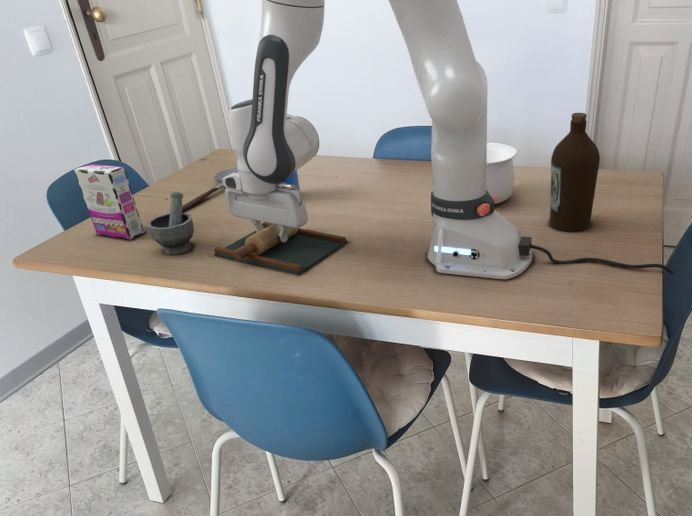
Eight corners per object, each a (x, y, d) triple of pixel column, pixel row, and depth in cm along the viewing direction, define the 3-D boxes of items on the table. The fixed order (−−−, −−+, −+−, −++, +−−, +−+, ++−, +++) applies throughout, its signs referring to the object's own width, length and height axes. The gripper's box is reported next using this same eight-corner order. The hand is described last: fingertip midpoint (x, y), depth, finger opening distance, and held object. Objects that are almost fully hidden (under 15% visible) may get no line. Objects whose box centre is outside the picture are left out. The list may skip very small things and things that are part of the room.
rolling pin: (312, 227, 151) (309, 210, 149) (246, 266, 134) (242, 247, 132) (298, 225, 153) (295, 207, 150) (231, 263, 136) (226, 244, 134)
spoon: (261, 176, 185) (258, 166, 184) (187, 222, 161) (183, 211, 159) (231, 176, 189) (228, 166, 188) (155, 221, 165) (151, 210, 163)
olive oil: (586, 214, 153) (597, 107, 139) (597, 231, 144) (610, 119, 131) (543, 216, 153) (549, 109, 139) (551, 234, 144) (559, 121, 130)
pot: (503, 217, 153) (505, 168, 147) (436, 211, 159) (434, 163, 152) (523, 188, 171) (525, 142, 164) (462, 183, 176) (461, 139, 169)
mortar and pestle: (184, 259, 141) (170, 207, 134) (147, 256, 142) (131, 205, 136) (209, 238, 150) (197, 189, 143) (174, 236, 152) (160, 188, 145)
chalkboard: (347, 242, 145) (346, 236, 144) (298, 275, 132) (297, 268, 131) (267, 226, 155) (266, 221, 154) (214, 255, 142) (212, 249, 141)
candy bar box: (146, 232, 154) (125, 166, 145) (131, 240, 151) (109, 172, 141) (111, 227, 158) (89, 162, 149) (95, 235, 154) (72, 169, 145)
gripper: (308, 180, 133) (318, 241, 141) (236, 169, 142) (248, 227, 149) (289, 190, 129) (300, 252, 136) (216, 178, 137) (230, 237, 145)
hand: (272, 239), depth 143 cm, fingers closed on rolling pin, 4 cm apart
